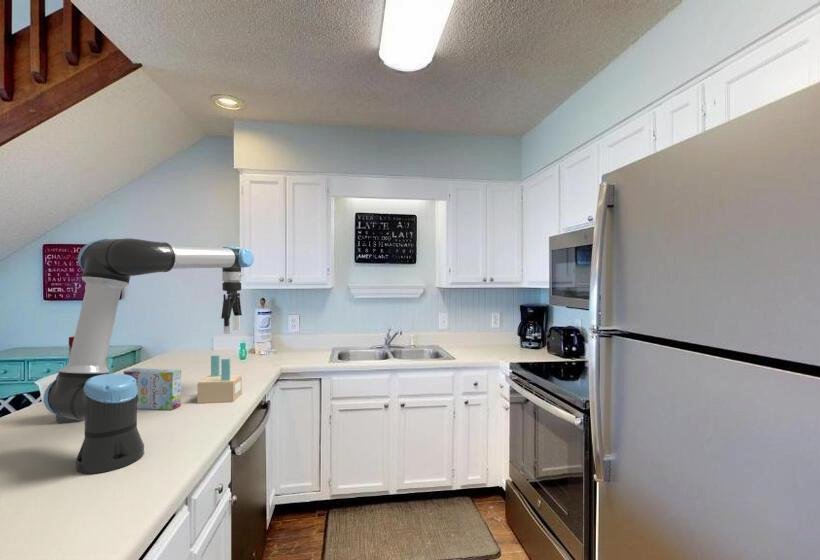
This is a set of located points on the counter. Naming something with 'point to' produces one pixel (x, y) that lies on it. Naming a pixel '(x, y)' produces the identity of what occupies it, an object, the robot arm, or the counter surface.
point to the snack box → (157, 388)
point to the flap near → (224, 374)
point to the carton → (219, 392)
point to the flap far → (217, 369)
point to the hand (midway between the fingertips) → (232, 331)
